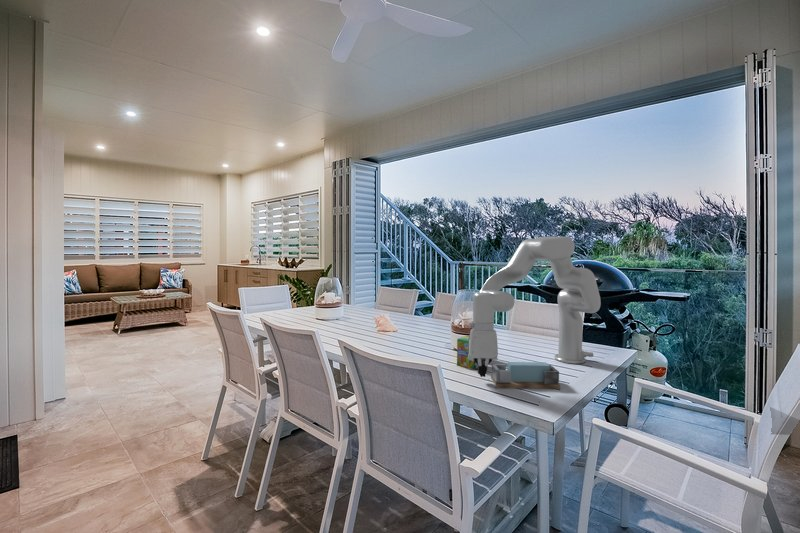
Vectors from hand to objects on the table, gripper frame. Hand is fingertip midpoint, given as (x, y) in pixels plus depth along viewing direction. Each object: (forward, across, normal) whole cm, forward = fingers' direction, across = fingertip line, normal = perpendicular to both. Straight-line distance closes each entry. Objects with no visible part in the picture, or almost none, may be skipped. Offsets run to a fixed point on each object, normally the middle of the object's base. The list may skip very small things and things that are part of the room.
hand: (482, 375), depth 145 cm
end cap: (+1, +7, 0) cm, 7 cm away
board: (+3, +15, 0) cm, 16 cm away
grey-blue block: (+1, +17, 0) cm, 17 cm away
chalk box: (+3, -1, +21) cm, 21 cm away
